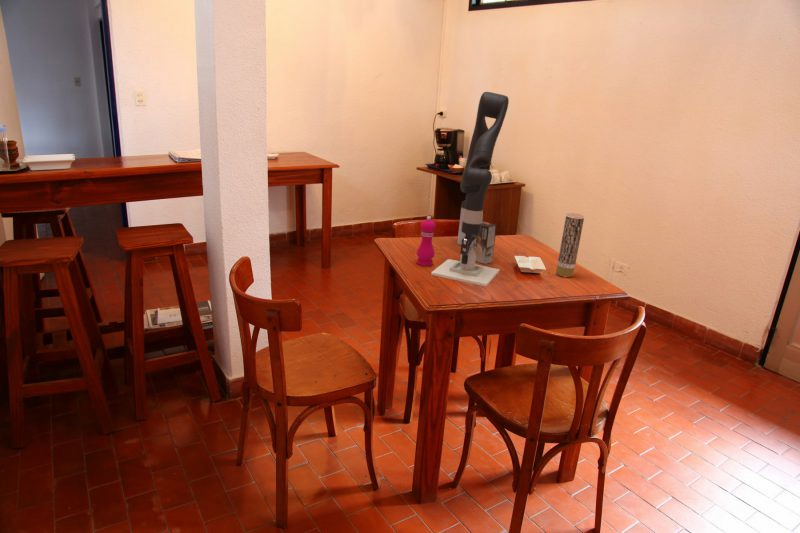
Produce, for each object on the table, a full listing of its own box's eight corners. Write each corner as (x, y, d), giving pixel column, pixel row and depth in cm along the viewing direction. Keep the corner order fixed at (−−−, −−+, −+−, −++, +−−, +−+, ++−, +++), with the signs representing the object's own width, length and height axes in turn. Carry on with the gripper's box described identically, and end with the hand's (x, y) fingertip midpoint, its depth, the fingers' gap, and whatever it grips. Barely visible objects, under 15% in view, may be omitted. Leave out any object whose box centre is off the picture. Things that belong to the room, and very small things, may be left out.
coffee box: (493, 261, 229) (498, 225, 224) (484, 264, 224) (489, 227, 219) (475, 256, 235) (479, 220, 230) (466, 258, 230) (471, 222, 225)
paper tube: (561, 271, 223) (571, 212, 215) (576, 276, 219) (587, 216, 210) (552, 274, 218) (563, 214, 210) (567, 279, 214) (579, 218, 206)
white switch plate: (448, 261, 225) (448, 255, 224) (499, 271, 217) (500, 265, 216) (431, 274, 207) (431, 268, 207) (486, 286, 199) (487, 280, 199)
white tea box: (465, 270, 208) (468, 245, 205) (459, 264, 214) (462, 240, 211) (474, 270, 209) (477, 245, 205) (468, 264, 215) (471, 240, 212)
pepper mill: (432, 267, 216) (436, 219, 209) (414, 265, 217) (418, 217, 210) (434, 262, 222) (439, 215, 216) (417, 260, 224) (421, 213, 217)
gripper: (476, 226, 198) (471, 267, 203) (486, 218, 210) (481, 258, 215) (457, 222, 200) (452, 263, 206) (468, 215, 213) (463, 254, 218)
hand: (467, 260), depth 210 cm, fingers open, 8 cm apart
